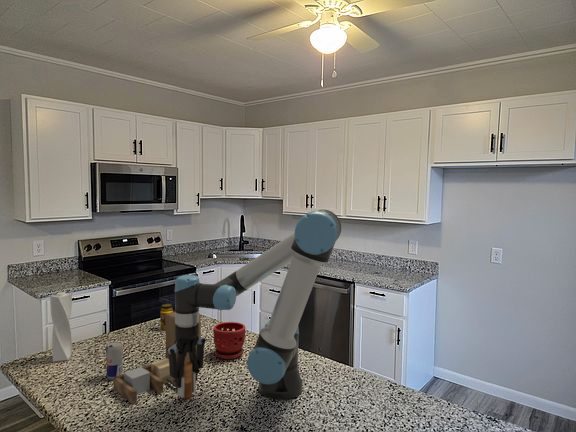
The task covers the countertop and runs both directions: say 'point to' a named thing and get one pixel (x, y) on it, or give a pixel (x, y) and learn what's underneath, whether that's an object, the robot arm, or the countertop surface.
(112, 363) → the energy drink
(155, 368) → the corded block
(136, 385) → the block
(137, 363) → the countertop surface
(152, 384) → the lane rack
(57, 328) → the skyscraper
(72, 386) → the countertop surface
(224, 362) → the countertop surface
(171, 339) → the wooden block
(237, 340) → the plant pot
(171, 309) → the condiment
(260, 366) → the robot arm
